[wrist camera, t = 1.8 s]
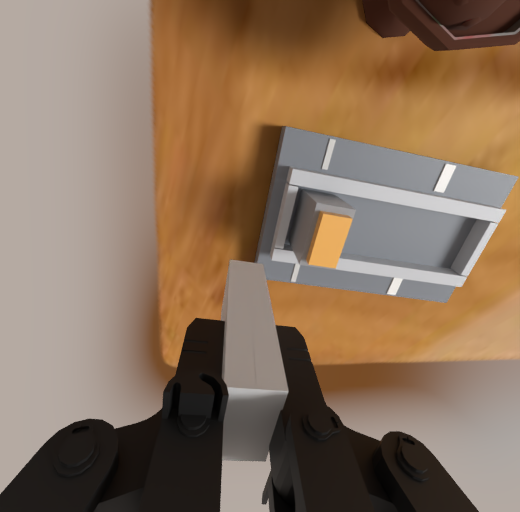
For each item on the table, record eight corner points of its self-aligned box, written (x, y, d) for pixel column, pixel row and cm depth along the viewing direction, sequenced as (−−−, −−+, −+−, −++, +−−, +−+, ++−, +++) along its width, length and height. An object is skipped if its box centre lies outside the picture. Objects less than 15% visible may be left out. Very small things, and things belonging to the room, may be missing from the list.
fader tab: (301, 188, 24) (320, 205, 19) (334, 194, 24) (360, 212, 19) (288, 240, 26) (301, 269, 21) (318, 245, 26) (338, 274, 21)
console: (282, 126, 23) (289, 126, 20) (499, 173, 27) (534, 179, 23) (253, 268, 29) (255, 285, 26) (434, 292, 32) (456, 311, 29)
